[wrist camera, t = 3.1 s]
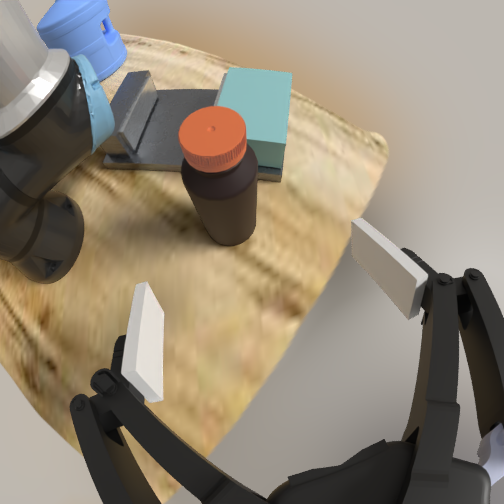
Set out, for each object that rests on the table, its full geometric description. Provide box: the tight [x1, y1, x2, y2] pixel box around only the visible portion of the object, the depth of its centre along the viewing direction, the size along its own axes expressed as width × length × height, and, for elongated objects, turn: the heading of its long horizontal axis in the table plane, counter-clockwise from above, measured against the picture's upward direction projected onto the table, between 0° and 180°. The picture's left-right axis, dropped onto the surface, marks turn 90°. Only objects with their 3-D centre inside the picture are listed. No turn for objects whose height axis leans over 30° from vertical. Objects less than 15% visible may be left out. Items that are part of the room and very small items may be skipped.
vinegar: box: [178, 106, 258, 246], centre depth 28 cm, size 7×7×20 cm
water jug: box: [37, 0, 127, 82], centre depth 33 cm, size 16×16×28 cm
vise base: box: [100, 70, 284, 182], centre depth 37 cm, size 28×16×8 cm, turn 82°
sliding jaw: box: [214, 67, 292, 168], centre depth 36 cm, size 10×14×6 cm
